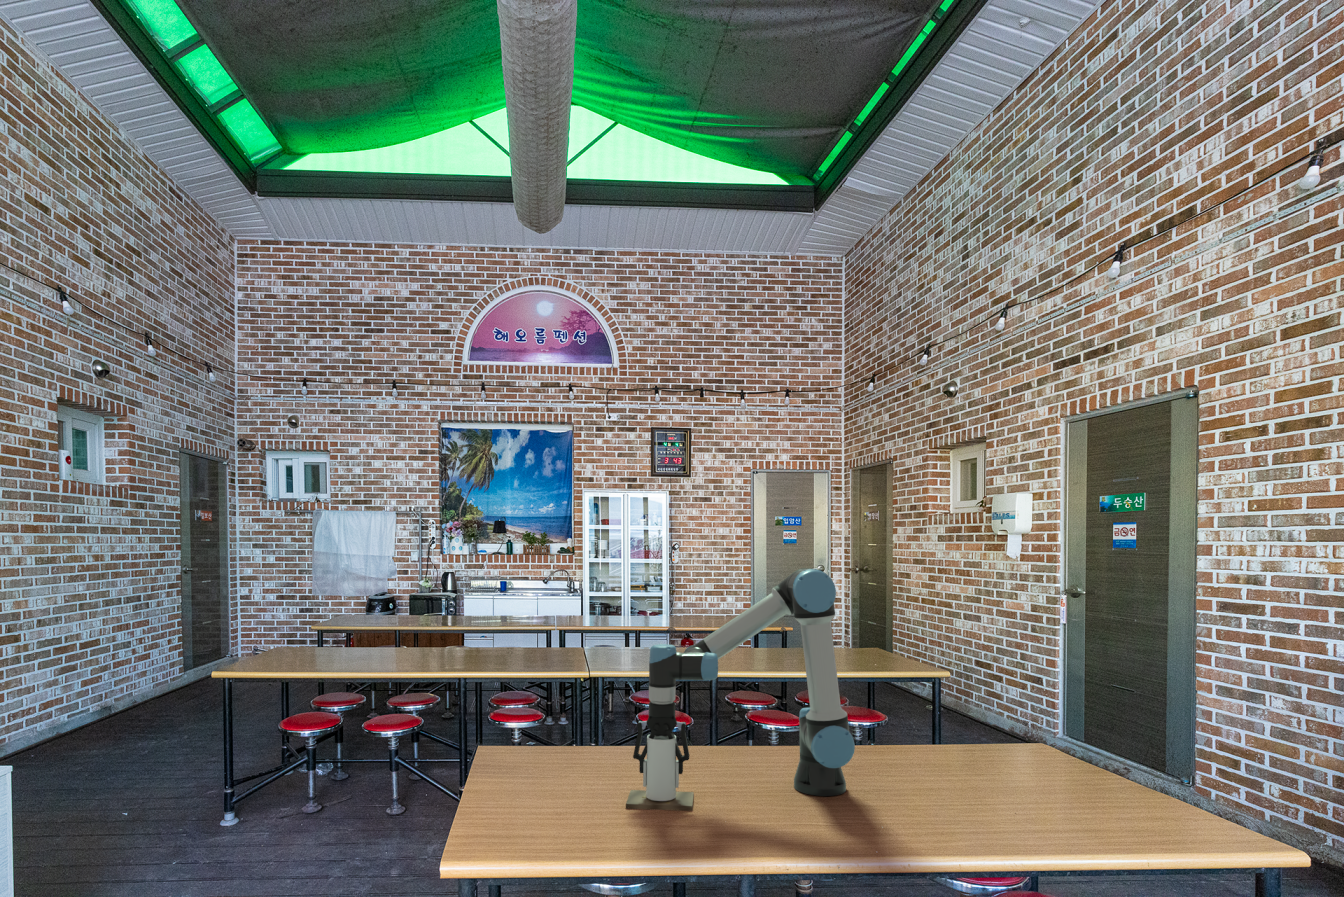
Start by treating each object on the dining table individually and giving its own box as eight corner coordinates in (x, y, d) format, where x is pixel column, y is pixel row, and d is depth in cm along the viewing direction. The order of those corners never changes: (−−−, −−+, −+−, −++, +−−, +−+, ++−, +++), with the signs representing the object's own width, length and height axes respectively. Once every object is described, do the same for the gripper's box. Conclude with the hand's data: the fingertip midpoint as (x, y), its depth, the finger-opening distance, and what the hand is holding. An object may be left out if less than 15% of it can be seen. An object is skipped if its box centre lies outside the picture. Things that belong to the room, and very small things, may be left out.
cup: (677, 792, 217) (677, 733, 219) (674, 801, 208) (674, 740, 210) (648, 790, 217) (649, 732, 219) (644, 800, 209) (645, 739, 211)
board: (693, 796, 218) (693, 791, 218) (692, 810, 206) (692, 805, 206) (630, 794, 219) (630, 789, 219) (625, 808, 207) (625, 803, 207)
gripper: (699, 699, 219) (699, 782, 216) (626, 697, 220) (624, 780, 218) (699, 704, 212) (698, 791, 209) (623, 703, 213) (621, 788, 210)
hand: (661, 785), depth 213 cm, fingers open, 8 cm apart
